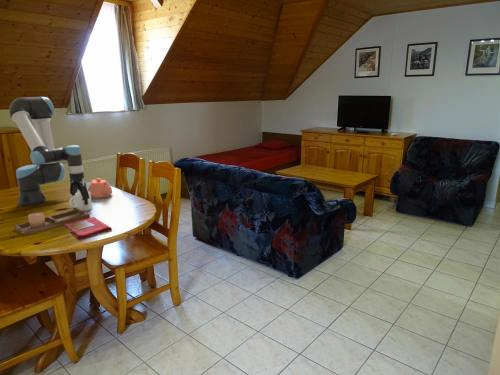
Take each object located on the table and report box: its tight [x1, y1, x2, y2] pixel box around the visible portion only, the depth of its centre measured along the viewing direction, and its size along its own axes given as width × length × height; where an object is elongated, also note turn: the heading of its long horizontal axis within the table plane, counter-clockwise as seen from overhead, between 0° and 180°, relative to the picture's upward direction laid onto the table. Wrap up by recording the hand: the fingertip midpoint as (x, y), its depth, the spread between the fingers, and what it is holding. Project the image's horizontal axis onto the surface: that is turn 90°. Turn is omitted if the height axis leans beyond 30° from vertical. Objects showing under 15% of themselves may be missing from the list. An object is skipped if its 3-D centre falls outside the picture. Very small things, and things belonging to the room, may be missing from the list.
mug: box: [68, 190, 93, 212], centre depth 215 cm, size 12×8×10 cm
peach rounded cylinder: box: [27, 211, 46, 229], centre depth 187 cm, size 7×7×7 cm
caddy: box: [14, 208, 91, 236], centre depth 193 cm, size 13×33×3 cm, turn 141°
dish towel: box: [63, 216, 113, 240], centre depth 188 cm, size 17×24×3 cm
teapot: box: [87, 177, 113, 200], centre depth 240 cm, size 22×15×12 cm
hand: (81, 207), depth 216 cm, fingers open, 11 cm apart
